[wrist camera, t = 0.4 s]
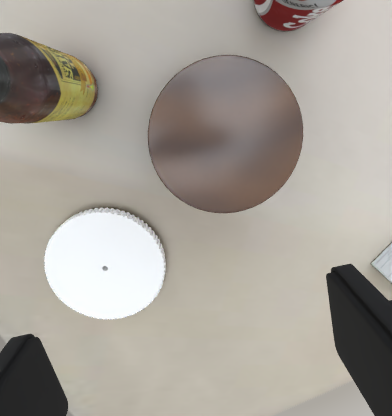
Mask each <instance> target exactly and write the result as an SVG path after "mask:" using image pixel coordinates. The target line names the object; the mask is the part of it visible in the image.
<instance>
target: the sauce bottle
mask: <svg viewBox="0 0 392 416" xmlns="http://www.w3.org/2000/svg"><path fill="white" fill-rule="evenodd" d="M97 91H98V90H97V84H96V79H95V77H94V76H93V74H92V73H91V71H90V70H89V69H88V68H87V67H86V65H84V64H83V63H82V62H81V61H80V60H78V59H77V58H75V57H73V56H70V55H68V54H65V53H63V52H60V51H58V50H55V49H52V48H50V47H47V46H45V45H43V44H40V43H37V42H35V41H32V40H29V39H27V38H24V37H22V36H19V35H16V34H12V33H1V34H0V122H5V123H38V122H48V121H58V120H68V119H75V118H77V117H79V116H82V115H84V114H86V113H87V112H88V111H89V110H90V109H91V108H92V107H93V105H94V103H95V102H96V99H97Z"/></svg>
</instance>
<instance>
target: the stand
mask: <svg viewBox="0 0 392 416" xmlns="http://www.w3.org/2000/svg"><path fill="white" fill-rule="evenodd" d="M302 141H303V123H302V116H301V112H300V108H299V105H298V103H297V100H296V98H295V96H294V94H293V92H292V91H291V89H290V87H289V86H288V85H287V84H286V82H285V81H284V80H283V79H282V78H281V77H280V76H279V75H278V74H277V73H276V72H275V71H273V70H272V69H270V68H269V67H268V66H266V65H264V64H262V63H260V62H258V61H256V60H253V59H250V58H247V57H242V56H237V55H221V56H213V57H209V58H205V59H202V60H200V61H197V62H195V63H193V64H191V65H189V66H187V67H186V68H184V69H183V70H181V71H180V72H179V73H177V74H176V75H175V76H174V77H173V78H172V79H171V80H170V81H169V82H168V83H167V85H166V86H165V87H164V89H163V90H162V91H161V93H160V95H159V96H158V98H157V100H156V102H155V105H154V107H153V110H152V113H151V117H150V120H149V128H148V145H149V152H150V156H151V160H152V163H153V165H154V168H155V170H156V172H157V174H158V176H159V177H160V179H161V181H162V182H163V183H164V185H165V186H166V187H167V188H168V189H169V190H170V191H171V192H172V193H173V194H174V195H175V196H176V197H178V198H179V199H180V200H182V201H183V202H185V203H187V204H188V205H190V206H193V207H195V208H197V209H200V210H204V211H208V212H214V213H232V212H239V211H243V210H246V209H249V208H252V207H254V206H257V205H259V204H261V203H262V202H264V201H265V200H267V199H269V198H270V197H271V196H272V195H274V194H275V193H276V192H277V191H278V190H279V189H280V188H281V187H282V186H283V185H284V184H285V182H286V181H287V180H288V178H289V177H290V175H291V174H292V172H293V170H294V168H295V166H296V164H297V161H298V159H299V155H300V152H301V148H302Z"/></svg>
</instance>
